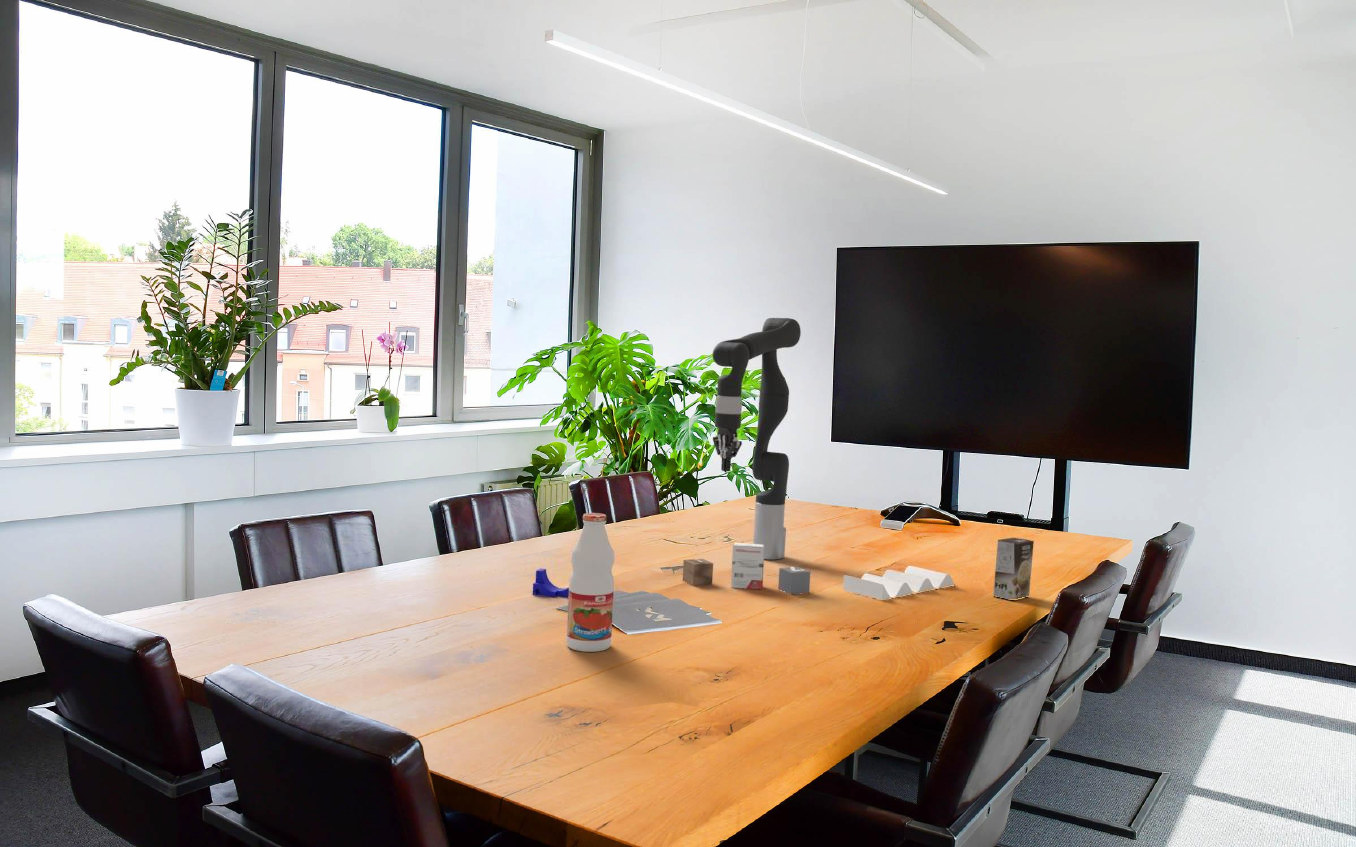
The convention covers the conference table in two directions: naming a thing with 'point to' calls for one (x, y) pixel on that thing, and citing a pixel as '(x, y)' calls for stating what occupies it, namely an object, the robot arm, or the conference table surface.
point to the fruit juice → (591, 588)
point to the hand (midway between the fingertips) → (725, 470)
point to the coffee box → (1013, 568)
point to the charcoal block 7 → (794, 580)
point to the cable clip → (547, 586)
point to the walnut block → (697, 572)
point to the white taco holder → (897, 583)
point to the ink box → (747, 566)
